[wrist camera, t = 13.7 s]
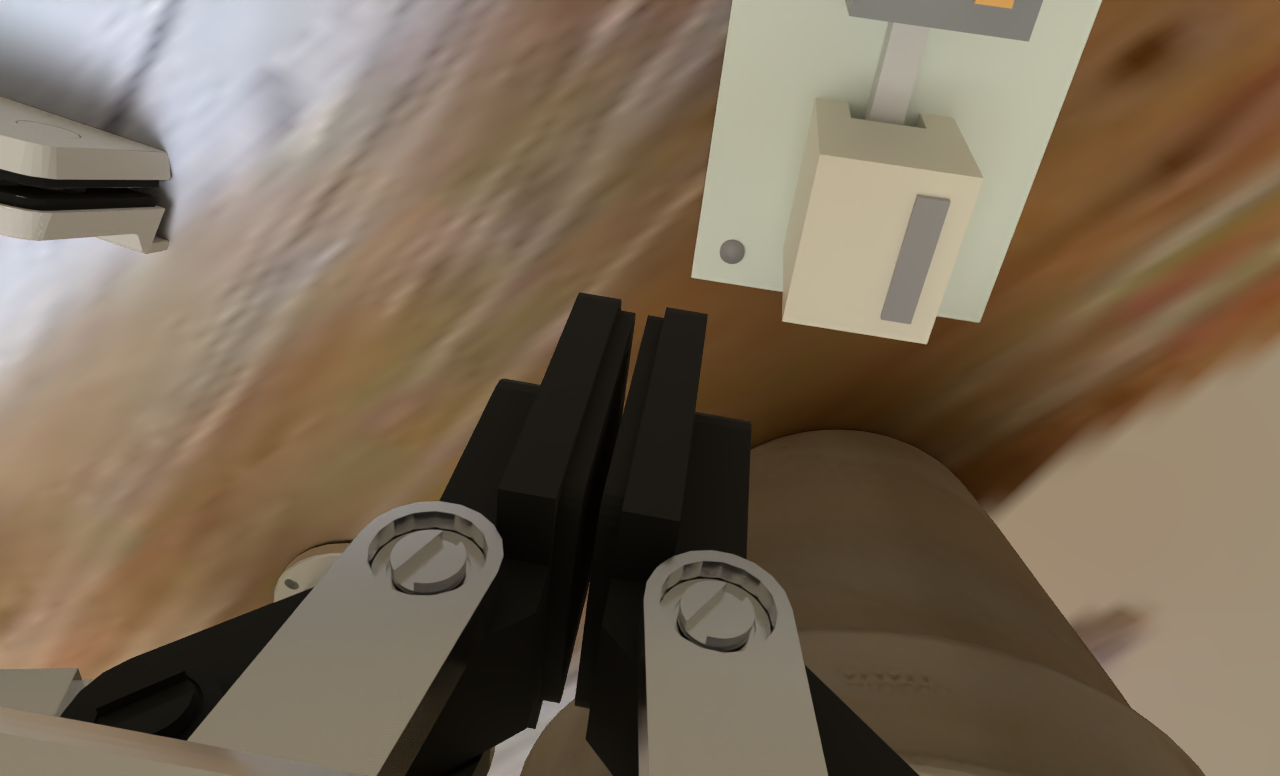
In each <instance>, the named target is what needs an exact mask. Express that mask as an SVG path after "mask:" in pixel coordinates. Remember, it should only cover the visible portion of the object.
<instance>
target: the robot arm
mask: <svg viewBox="0 0 1280 776" xmlns="http://www.w3.org/2000/svg"><path fill="white" fill-rule="evenodd" d="M707 316H708V314H704V313H698V312H692V311H686V310H680V309H674V308H668V307H667V308H666V312H665V316H664V318H661V317H655V316H649V315H648V318H647V322H646V326H645V330H644V334H643V338H642V342H641V346H640V350H639V354H638V357H637V361H636V365H635V369H634V373H633V377H632V381H631V385H630V389H629V393H628V397H627V401H626V405H625V409H624V413H623V406H624V398H625V391H626V384H627V376H628V369H629V361H630V354H631V347H632V339H633V332H634V324H635V313H632V312H626V311H621V299H615V298H609V297H603V296H597V295H591V294H586V293H579V294H578V296H577V298H576V301H575V303H574V306H573V308H572V311H571V313H570V315H569V318H568V320H567V323H566V325H565V327H564V330H563V332H562V335H561V337H560V340H559V342H558V344H557V347H556V349H555V352H554V354H553V356H552V359H551V361H550V364H549V366H548V368H547V371H546V373H545V376H544V378H543V381H542V383H541V385H538V384H532V383H526V382H520V381H515V380H509V379H501V380H500V381H499V382H498V384H497V386H496V387H495V389H494V391H493V393H492V395H491V397H490V399H489V401H488V404H487V406H486V408H485V410H484V412H483V414H482V416H481V418H480V420H479V422H478V424H477V426H476V428H475V430H474V432H473V434H472V436H471V438H470V440H469V442H468V444H467V446H466V448H465V450H464V452H463V454H462V456H461V458H460V460H459V462H458V464H457V466H456V468H455V471H454V473H453V475H452V477H451V479H450V481H449V483H448V485H447V487H446V489H445V491H444V493H443V495H442V497H441V499H440V501H433V502H416V503H412V504H408V505H404V506H400V507H396V508H394V509H392V510H390V511H388V512H386V513H384V514H382V515H380V516H378V517H376V518H375V519H374V520H373V521H372V522H370V523H369V524H368V525H367V526H366V527H365V528H364V529H362V530H361V532H360V533H359V534H358V535H357V536H356V538H355V539H354V540H353V541H352V542H351V543H340V544H327V545H324V546H320V547H316V548H312V549H310V550H308V551H306V552H304V553H302V554H300V555H298V556H297V557H296V558H295V559H294V560H293V561H292V562H290V563H289V564H288V566H287V567H286V569H285V570H284V572H283V573H282V575H281V576H280V578H279V579H278V582H277V584H276V587H275V590H274V601H273V603H272V604H269V605H266V606H264V607H261V608H259V609H256V610H254V611H251V612H249V613H246V614H243V615H241V616H238V617H236V618H233V619H231V620H228V621H226V622H223V623H220V624H218V625H215V626H213V627H210V628H208V629H205V630H203V631H200V632H198V633H195V634H192V635H190V636H187V637H185V638H182V639H180V640H177V641H175V642H172V643H169V644H167V645H164V646H162V647H159V648H157V649H154V650H152V651H149V652H146V653H144V654H141V655H139V656H136V657H134V658H131V659H129V660H127V661H125V662H123V663H121V664H119V665H117V666H115V667H113V668H111V669H109V670H107V671H105V672H103V673H102V674H101V675H100V676H98V677H97V678H96V679H95V680H82V678H81V675H80V673H79V670H78V668H59V669H0V776H487V773H488V771H489V769H490V766H491V762H492V759H493V755H494V752H495V746H496V745H497V744H499V743H501V742H503V741H505V740H506V739H508V738H510V737H512V736H514V735H515V734H517V733H519V732H521V731H522V730H524V729H526V728H533V729H536V725H537V721H538V717H539V714H540V710H541V706H542V702H543V700H546V701H551V702H556V703H560V701H561V698H562V694H563V690H564V686H565V682H566V678H567V673H568V669H569V665H570V661H571V657H572V653H573V649H574V645H575V640H576V636H577V632H578V628H579V624H580V620H581V616H582V611H583V607H584V603H585V599H586V595H587V591H588V587H589V593H588V601H587V609H586V617H585V625H584V633H583V641H582V649H581V657H580V664H579V672H578V680H577V688H576V696H575V706H577V707H583V708H588V709H590V711H589V718H588V725H587V732H586V741H587V742H588V743H589V745H590V746H591V747H592V749H593V750H594V751H595V753H596V754H597V755H598V757H599V758H600V759H601V761H602V762H603V763H604V765H605V766H606V767H607V769H608V770H609V771H610V773H611V774H612V776H919V775H918V774H917V773H916V772H915V771H914V770H913V769H912V768H911V767H910V766H909V765H908V764H907V763H906V762H905V761H904V760H903V759H902V758H901V757H900V756H899V755H898V754H897V753H896V752H895V751H894V750H893V749H892V748H891V747H890V746H888V745H887V744H886V743H885V742H884V741H883V740H882V739H881V738H880V737H879V736H878V735H877V734H876V733H875V732H874V731H873V730H872V729H871V728H870V727H869V726H868V725H867V724H866V723H865V722H864V721H863V720H862V719H861V718H860V717H859V716H857V715H856V714H855V713H854V712H853V711H852V710H851V709H850V708H849V707H848V706H847V705H846V704H845V703H844V702H843V701H842V700H841V699H840V698H839V697H838V696H837V695H836V694H835V693H834V692H833V691H832V690H831V689H830V688H829V687H828V686H826V685H825V684H824V683H823V682H822V681H821V680H820V679H819V678H818V677H817V676H816V675H815V674H814V673H813V672H812V671H811V670H810V669H809V668H808V667H807V666H806V665H805V664H804V661H803V656H802V651H801V647H800V642H799V637H798V633H797V628H796V623H795V619H794V614H793V609H792V607H791V604H790V602H789V600H788V597H787V595H786V592H785V591H784V589H783V588H782V587H781V586H780V585H779V583H778V582H777V581H776V580H775V579H774V577H773V576H772V575H770V574H769V573H768V572H766V571H765V570H763V569H762V568H761V567H759V566H758V565H757V564H755V563H753V562H751V561H749V560H747V533H748V505H749V477H750V450H751V423H750V421H744V420H739V419H733V418H727V417H721V416H716V415H710V414H704V413H698V412H695V407H696V399H697V392H698V384H699V377H700V369H701V362H702V354H703V347H704V339H705V332H706V324H707ZM622 413H623V417H622ZM589 583H590V585H589Z"/></svg>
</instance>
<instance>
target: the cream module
mask: <svg viewBox="0 0 1280 776" xmlns="http://www.w3.org/2000/svg"><path fill="white" fill-rule="evenodd" d="M983 180H984V178H983V175H982V173H981V171H980V169H979V167H978V165H977V163H976V161H975V159H974V157H973V155H972V153H971V151H970V149H969V147H968V145H967V143H966V141H965V139H964V137H963V135H962V133H961V131H960V129H959V127H958V125H957V123H956V121H955V119H954V118H952V117H945V116H938V115H931V114H924V113H920V116H919V119H918V123H917V126H916V127H911V126H904V125H897V124H890V123H883V122H876V121H869V120H862V119H855V118H851V114H850V109H849V104H848V103H847V102H840V101H833V100H826V99H819V98H815V102H814V107H813V111H812V116H811V121H810V125H809V130H808V135H807V139H806V144H805V149H804V153H803V158H802V162H801V167H800V172H799V176H798V181H797V186H796V190H795V195H794V200H793V204H792V209H791V214H790V218H789V223H788V228H787V232H786V237H785V242H784V246H783V297H782V321H783V322H789V323H796V324H802V325H808V326H814V327H821V328H827V329H833V330H840V331H846V332H852V333H859V334H865V335H871V336H878V337H884V338H890V339H896V340H903V341H909V342H915V343H922V344H927V342H928V339H929V336H930V334H931V331H932V328H933V325H934V322H935V319H936V316H937V313H938V310H939V307H940V304H941V302H942V299H943V296H944V293H945V290H946V287H947V284H948V281H949V278H950V275H951V273H952V270H953V267H954V264H955V261H956V258H957V255H958V252H959V249H960V246H961V244H962V241H963V238H964V235H965V232H966V229H967V226H968V223H969V220H970V217H971V214H972V212H973V209H974V206H975V203H976V200H977V197H978V194H979V191H980V188H981V185H982V183H983Z"/></svg>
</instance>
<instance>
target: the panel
mask: <svg viewBox="0 0 1280 776" xmlns="http://www.w3.org/2000/svg"><path fill="white" fill-rule="evenodd" d="M1101 2H1102V0H1043V2H1042V5H1041V8H1040V11H1039V14H1038V17H1037V20H1036V23H1035V25H1034V28H1033V31H1032V34H1031V37H1030V40H1029V42H1028V41H1021V40H1014V39H1007V38H1000V37H993V36H986V35H979V34H972V33H965V32H958V31H950V30H943V29H936V28H929V27H922V26H915V25H908V24H901V23H894V22H887V21H880V20H873V19H866V18H859V17H852V16H849V14H848V10H847V6H846V3H845V0H733V1H732V8H731V15H730V21H729V28H728V35H727V41H726V48H725V55H724V61H723V68H722V75H721V81H720V88H719V95H718V101H717V108H716V115H715V121H714V128H713V135H712V141H711V148H710V155H709V161H708V168H707V175H706V181H705V188H704V194H703V201H702V208H701V214H700V221H699V228H698V234H697V241H696V248H695V254H694V261H693V268H692V274H691V278H697V279H703V280H709V281H716V282H722V283H729V284H735V285H741V286H748V287H754V288H760V289H767V290H773V291H780V292H783V246H784V242H785V237H786V232H787V228H788V223H789V218H790V214H791V209H792V204H793V200H794V195H795V190H796V186H797V181H798V176H799V172H800V167H801V162H802V158H803V153H804V149H805V144H806V139H807V135H808V130H809V125H810V121H811V116H812V111H813V107H814V102H815V98H819V99H826V100H833V101H840V102H847V103H848V104H849V109H850V114H851V118H855V119H862V120H869V121H876V122H883V123H890V124H897V125H904V126H911V127H916V126H917V123H918V119H919V116H920V113H924V114H931V115H938V116H945V117H952V118H954V119H955V121H956V123H957V125H958V127H959V129H960V131H961V133H962V135H963V137H964V139H965V141H966V143H967V145H968V147H969V149H970V151H971V153H972V155H973V157H974V159H975V161H976V163H977V165H978V167H979V169H980V171H981V173H982V175H983V178H984V180H983V183H982V185H981V188H980V191H979V194H978V197H977V200H976V203H975V206H974V209H973V212H972V214H971V217H970V220H969V223H968V226H967V229H966V232H965V235H964V238H963V241H962V244H961V246H960V249H959V252H958V255H957V258H956V261H955V264H954V267H953V270H952V273H951V275H950V278H949V281H948V284H947V287H946V290H945V293H944V296H943V299H942V302H941V304H940V307H939V310H938V313H937V316H939V317H946V318H952V319H958V320H965V321H971V322H978V323H980V320H981V318H982V315H983V313H984V310H985V307H986V305H987V302H988V299H989V297H990V294H991V292H992V289H993V286H994V284H995V281H996V278H997V276H998V273H999V270H1000V268H1001V265H1002V263H1003V260H1004V257H1005V255H1006V252H1007V249H1008V247H1009V244H1010V241H1011V239H1012V236H1013V234H1014V231H1015V228H1016V226H1017V223H1018V220H1019V218H1020V215H1021V212H1022V210H1023V207H1024V205H1025V202H1026V199H1027V197H1028V194H1029V191H1030V189H1031V186H1032V184H1033V181H1034V178H1035V176H1036V173H1037V170H1038V168H1039V165H1040V162H1041V160H1042V157H1043V155H1044V152H1045V149H1046V147H1047V144H1048V141H1049V139H1050V136H1051V133H1052V131H1053V128H1054V126H1055V123H1056V120H1057V118H1058V115H1059V112H1060V110H1061V107H1062V105H1063V102H1064V99H1065V97H1066V94H1067V91H1068V89H1069V86H1070V83H1071V81H1072V78H1073V76H1074V73H1075V70H1076V68H1077V65H1078V62H1079V60H1080V57H1081V54H1082V52H1083V49H1084V47H1085V44H1086V41H1087V39H1088V36H1089V33H1090V31H1091V28H1092V26H1093V23H1094V20H1095V18H1096V15H1097V12H1098V10H1099V7H1100V4H1101Z"/></svg>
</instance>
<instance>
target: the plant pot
mask: <svg viewBox="0 0 1280 776" xmlns="http://www.w3.org/2000/svg"><path fill="white" fill-rule="evenodd" d="M747 560H749V561H751V562H753V563H755V564H757V565H758V566H759V567H761V568H762V569H763V570H765V571H766V572H768V573H769V574H770V575H772V576H773V577H774V579H775V580H776V581H777V582H778V583H779V585H780V586H781V587H782V588H783V589H784V591H785V592H786V595H787V597H788V600H789V602H790V604H791V607H792V609H793V614H794V619H795V623H796V628H797V633H798V637H799V642H800V647H801V651H802V656H803V661H804V664H805V665H806V666H807V667H808V668H809V669H810V670H811V671H812V672H813V673H814V674H815V675H816V676H817V677H818V678H819V679H820V680H821V681H822V682H823V683H824V684H825V685H826V686H828V687H829V688H830V689H831V690H832V691H833V692H834V693H835V694H836V695H837V696H838V697H839V698H840V699H841V700H842V701H843V702H844V703H845V704H846V705H847V706H848V707H849V708H850V709H851V710H852V711H853V712H854V713H855V714H856V715H857V716H859V717H860V718H861V719H862V720H863V721H864V722H865V723H866V724H867V725H868V726H869V727H870V728H871V729H872V730H873V731H874V732H875V733H876V734H877V735H878V736H879V737H880V738H881V739H882V740H883V741H884V742H885V743H886V744H887V745H888V746H890V747H891V748H892V749H893V750H894V751H895V752H896V753H897V754H898V755H899V756H900V757H901V758H902V759H903V760H904V761H905V762H906V763H907V764H908V765H909V766H910V767H911V768H912V769H913V770H914V771H915V772H916V773H917V774H918V775H919V776H1205V775H1204V773H1203V772H1202V771H1201V769H1200V768H1199V767H1198V765H1196V763H1195V762H1194V761H1193V760H1192V759H1191V758H1190V757H1189V756H1188V755H1187V754H1186V753H1185V752H1184V751H1183V750H1182V749H1181V748H1180V747H1179V746H1178V745H1177V744H1176V743H1175V742H1174V741H1173V740H1172V739H1171V738H1170V737H1169V736H1168V735H1166V734H1165V733H1164V732H1163V731H1161V730H1160V729H1159V728H1158V727H1156V726H1155V725H1154V724H1152V723H1151V722H1150V721H1148V720H1147V719H1146V718H1144V717H1143V716H1141V715H1140V714H1139V713H1137V712H1136V711H1135V710H1133V709H1132V708H1131V707H1130V706H1129V704H1128V703H1127V701H1126V700H1125V699H1124V697H1123V695H1122V694H1121V693H1120V691H1119V690H1118V689H1117V688H1116V686H1115V684H1114V683H1113V682H1112V680H1111V679H1110V678H1109V676H1108V675H1107V673H1106V672H1105V671H1104V669H1103V668H1102V667H1101V665H1100V664H1099V663H1098V661H1097V660H1096V659H1095V657H1094V656H1093V655H1092V653H1091V652H1090V651H1089V649H1088V648H1087V647H1086V645H1085V644H1084V643H1083V641H1082V640H1081V639H1080V637H1079V636H1078V635H1077V633H1076V632H1075V631H1074V629H1073V628H1072V627H1071V625H1070V624H1069V622H1068V621H1067V620H1066V618H1065V617H1064V616H1063V614H1062V613H1061V612H1060V611H1059V609H1058V608H1057V607H1056V605H1055V604H1054V602H1053V601H1052V600H1051V598H1050V597H1049V596H1048V595H1047V593H1046V592H1045V590H1044V589H1043V588H1042V586H1041V585H1040V584H1039V582H1038V581H1037V580H1036V578H1035V577H1034V576H1033V574H1032V573H1031V571H1030V570H1029V569H1028V567H1027V566H1026V565H1025V563H1024V562H1023V561H1022V559H1021V558H1020V557H1019V555H1018V554H1017V552H1016V551H1015V550H1014V548H1013V547H1012V546H1011V545H1010V543H1009V542H1008V541H1007V539H1006V537H1005V536H1004V535H1003V533H1002V532H1001V531H1000V529H999V528H998V527H997V525H996V524H995V523H994V522H993V520H992V519H991V518H990V517H989V515H988V514H987V513H986V512H985V510H984V509H983V508H982V507H981V505H980V504H979V503H978V502H977V501H976V499H975V498H974V497H973V496H972V494H971V493H970V492H969V491H968V489H967V488H966V487H965V486H964V485H963V483H962V482H961V481H960V480H959V479H958V478H957V477H956V476H955V475H954V474H953V473H952V472H951V471H950V470H949V469H948V468H947V467H946V466H944V465H943V464H941V463H940V462H939V461H937V460H936V459H935V458H933V457H931V456H930V455H928V454H926V453H925V452H923V451H921V450H920V449H918V448H916V447H914V446H912V445H909V444H907V443H905V442H902V441H899V440H896V439H894V438H891V437H888V436H884V435H880V434H875V433H870V432H864V431H856V430H818V431H808V432H802V433H798V434H793V435H789V436H785V437H782V438H778V439H775V440H772V441H770V442H767V443H765V444H762V445H760V446H758V447H756V448H754V449H752V450H750V477H749V505H748V533H747ZM589 711H590V709H588V708H583V707H577V706H575V699H574V700H573V701H571V702H570V703H569V704H568V705H567V706H566V707H564V708H563V709H562V710H561V711H560V712H559V713H558V714H557V715H556V716H555V717H554V719H553V720H552V721H551V722H550V723H549V724H548V725H547V726H546V728H545V729H544V731H543V732H542V733H541V735H540V736H539V738H538V739H537V741H536V743H535V744H534V746H533V748H532V750H531V751H530V753H529V755H528V757H527V759H526V761H525V763H524V766H523V769H522V772H521V775H520V776H612V774H611V773H610V771H609V770H608V769H607V767H606V766H605V765H604V763H603V762H602V761H601V759H600V758H599V757H598V755H597V754H596V753H595V751H594V750H593V749H592V747H591V746H590V745H589V743H588V742H587V741H586V732H587V725H588V718H589Z"/></svg>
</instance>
